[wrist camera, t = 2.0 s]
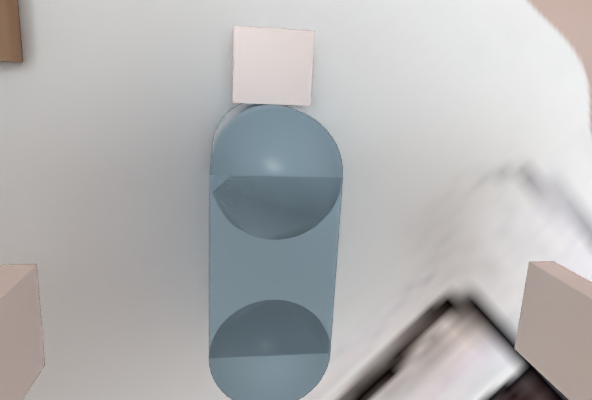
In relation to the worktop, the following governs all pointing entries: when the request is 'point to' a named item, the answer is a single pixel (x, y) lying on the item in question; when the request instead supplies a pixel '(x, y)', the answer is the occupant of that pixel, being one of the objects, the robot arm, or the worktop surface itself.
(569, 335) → the robot arm
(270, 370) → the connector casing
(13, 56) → the walnut board
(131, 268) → the worktop surface
